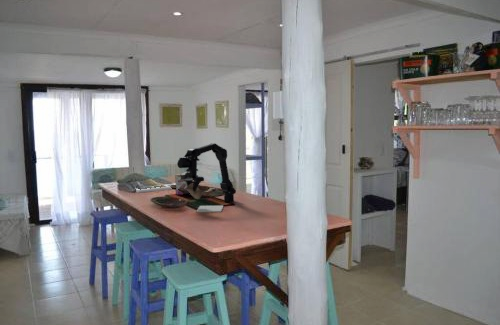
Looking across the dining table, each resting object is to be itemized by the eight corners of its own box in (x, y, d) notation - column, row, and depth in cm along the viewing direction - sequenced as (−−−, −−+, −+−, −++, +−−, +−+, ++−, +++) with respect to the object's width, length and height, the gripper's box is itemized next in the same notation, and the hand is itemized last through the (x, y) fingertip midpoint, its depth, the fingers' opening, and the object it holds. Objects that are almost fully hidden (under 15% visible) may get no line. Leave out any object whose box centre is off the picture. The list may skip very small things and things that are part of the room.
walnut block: (198, 192, 266) (190, 183, 260) (203, 193, 262) (194, 183, 257) (194, 198, 263) (185, 188, 258) (198, 199, 260) (190, 189, 254)
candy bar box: (175, 194, 315) (174, 174, 313) (177, 193, 320) (176, 173, 318) (189, 194, 314) (188, 174, 312) (190, 193, 319) (190, 173, 317)
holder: (137, 193, 327) (137, 190, 327) (132, 190, 343) (132, 187, 342) (187, 188, 350) (187, 185, 350) (180, 185, 366) (180, 182, 365)
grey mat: (223, 206, 268) (223, 205, 267) (221, 211, 252) (221, 210, 252) (200, 206, 268) (200, 205, 268) (196, 212, 252) (196, 211, 252)
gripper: (174, 167, 259) (173, 190, 260) (190, 169, 245) (190, 193, 246) (188, 166, 267) (187, 189, 267) (204, 168, 253) (204, 192, 254)
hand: (192, 191), depth 259 cm, fingers closed on walnut block, 5 cm apart
